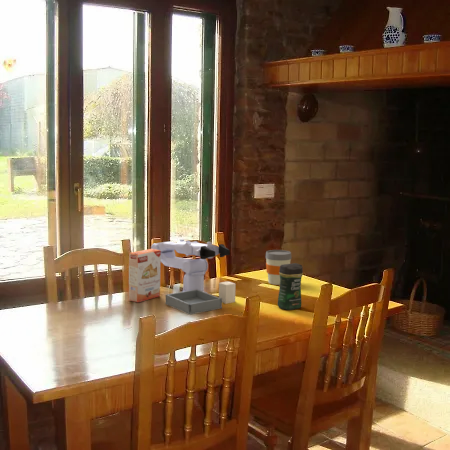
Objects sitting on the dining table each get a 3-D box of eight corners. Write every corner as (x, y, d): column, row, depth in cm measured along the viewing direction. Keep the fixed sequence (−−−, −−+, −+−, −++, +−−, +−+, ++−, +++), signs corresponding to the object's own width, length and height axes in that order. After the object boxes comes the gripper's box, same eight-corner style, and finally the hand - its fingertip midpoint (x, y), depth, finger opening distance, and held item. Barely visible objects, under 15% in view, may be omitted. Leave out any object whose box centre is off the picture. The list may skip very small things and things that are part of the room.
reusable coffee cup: (295, 281, 294) (296, 251, 292) (283, 287, 284) (284, 255, 281) (272, 278, 301) (273, 248, 299) (260, 283, 290) (260, 252, 288)
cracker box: (138, 303, 252) (138, 254, 249) (128, 300, 256) (127, 252, 252) (161, 296, 263) (161, 249, 260) (151, 294, 267) (151, 247, 264)
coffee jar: (285, 311, 244) (287, 266, 241) (274, 306, 251) (275, 263, 248) (304, 308, 249) (306, 264, 246) (293, 303, 256) (294, 261, 253)
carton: (218, 301, 258) (219, 282, 257) (228, 299, 261) (228, 281, 260) (225, 303, 254) (226, 285, 253) (235, 301, 257) (235, 283, 256)
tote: (165, 303, 252) (165, 294, 251) (196, 298, 261) (197, 289, 261) (189, 314, 237) (189, 304, 237) (221, 308, 247) (222, 298, 246)
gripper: (189, 242, 257) (207, 245, 246) (216, 239, 266) (235, 242, 255) (189, 258, 258) (207, 262, 247) (216, 255, 266) (235, 258, 256)
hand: (222, 253), depth 251 cm, fingers open, 7 cm apart
